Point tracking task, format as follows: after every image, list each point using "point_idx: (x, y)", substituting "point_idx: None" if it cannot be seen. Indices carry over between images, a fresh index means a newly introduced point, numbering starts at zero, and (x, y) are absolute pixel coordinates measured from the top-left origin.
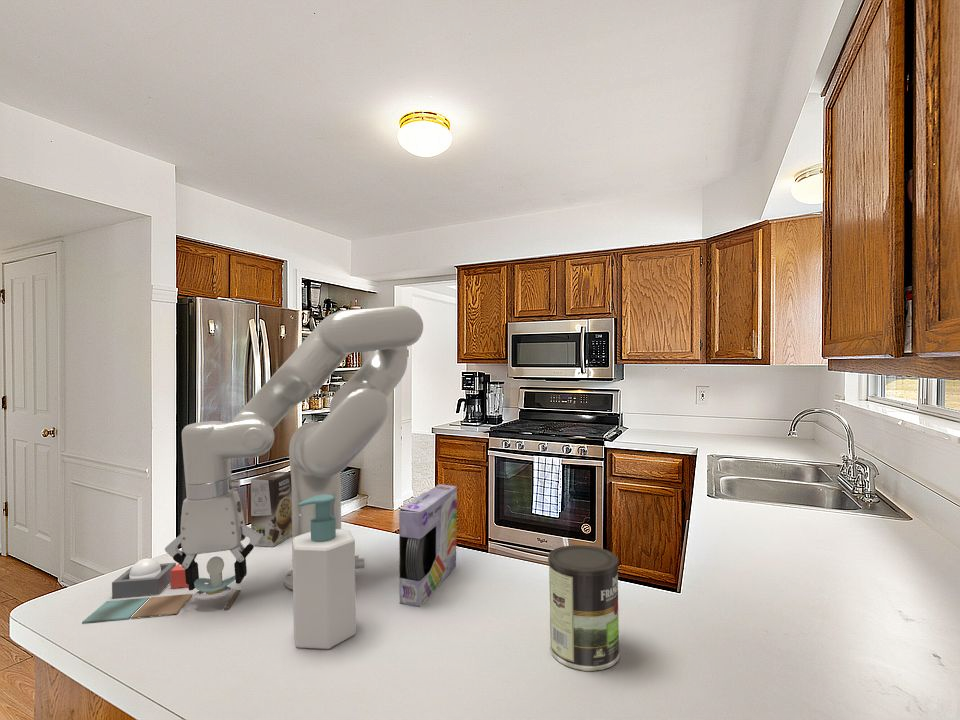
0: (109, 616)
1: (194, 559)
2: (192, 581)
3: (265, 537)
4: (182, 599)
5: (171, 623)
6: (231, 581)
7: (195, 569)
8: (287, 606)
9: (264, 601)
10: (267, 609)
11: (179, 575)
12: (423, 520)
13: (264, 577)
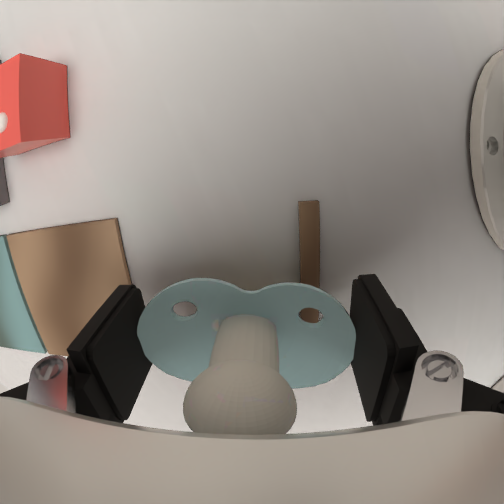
0: (4, 334)
1: (71, 383)
2: (145, 377)
3: None
4: (105, 268)
5: (172, 395)
6: (334, 374)
7: (116, 372)
8: (469, 332)
9: (419, 301)
10: (426, 348)
11: (6, 151)
12: None
13: (378, 65)
